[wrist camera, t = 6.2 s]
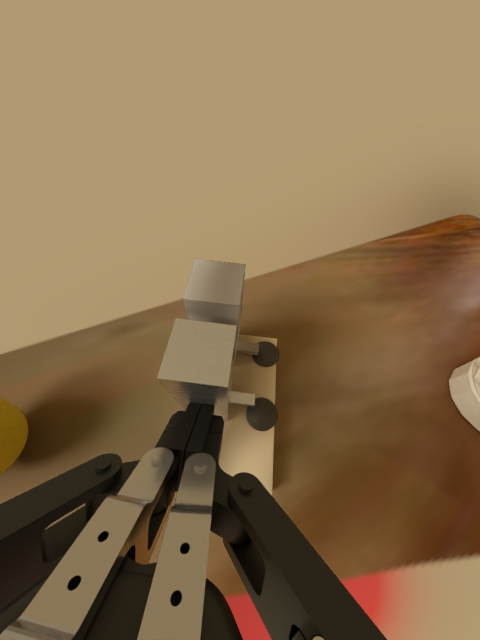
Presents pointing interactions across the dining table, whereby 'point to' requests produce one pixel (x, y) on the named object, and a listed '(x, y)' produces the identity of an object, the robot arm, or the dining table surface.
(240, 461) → the gauge board
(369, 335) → the dining table surface
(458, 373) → the white cup
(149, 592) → the robot arm
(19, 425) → the lemon
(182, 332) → the block
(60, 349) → the dining table surface
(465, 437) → the dining table surface
